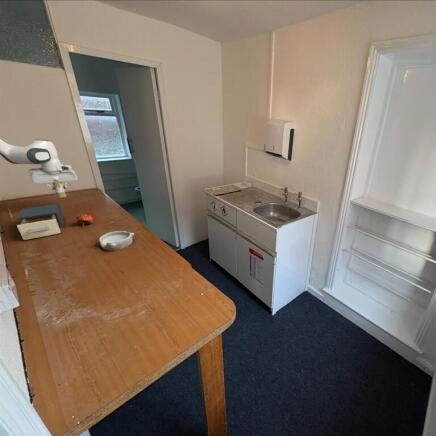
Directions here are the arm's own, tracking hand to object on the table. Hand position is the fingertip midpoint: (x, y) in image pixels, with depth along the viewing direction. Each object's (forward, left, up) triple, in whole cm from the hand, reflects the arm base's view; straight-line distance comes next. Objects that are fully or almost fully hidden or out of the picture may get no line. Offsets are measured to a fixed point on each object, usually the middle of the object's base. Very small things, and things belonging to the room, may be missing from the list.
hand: (59, 189), depth 147 cm
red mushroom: (+9, -33, -12) cm, 36 cm away
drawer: (-9, -35, -14) cm, 39 cm away
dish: (+20, -69, -15) cm, 74 cm away
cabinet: (-9, -22, -15) cm, 28 cm away
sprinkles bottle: (0, 0, -5) cm, 5 cm away
